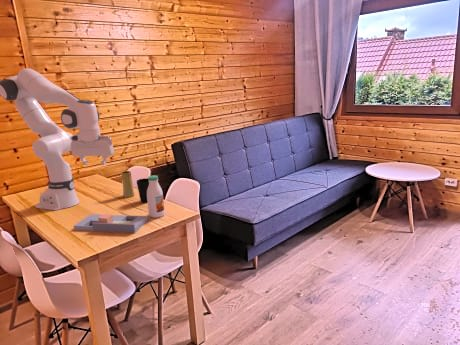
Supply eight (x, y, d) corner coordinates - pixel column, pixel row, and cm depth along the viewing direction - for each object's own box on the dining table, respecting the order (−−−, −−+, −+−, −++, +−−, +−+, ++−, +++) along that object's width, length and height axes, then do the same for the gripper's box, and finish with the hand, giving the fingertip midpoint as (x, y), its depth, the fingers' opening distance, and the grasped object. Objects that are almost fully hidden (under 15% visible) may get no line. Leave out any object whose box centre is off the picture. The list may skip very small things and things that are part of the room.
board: (73, 230, 163) (71, 222, 162) (91, 217, 177) (89, 210, 176) (134, 233, 157) (133, 224, 156) (148, 219, 171) (147, 212, 170)
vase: (124, 194, 210) (121, 171, 207) (135, 193, 211) (132, 170, 207) (122, 197, 205) (119, 173, 201) (133, 197, 205) (130, 173, 201)
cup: (149, 203, 193) (147, 182, 190) (136, 203, 195) (133, 182, 191) (155, 199, 200) (153, 178, 197) (142, 198, 202) (140, 178, 199)
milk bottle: (151, 219, 172) (147, 179, 167) (147, 214, 179) (142, 175, 173) (166, 216, 175) (163, 176, 170) (162, 211, 182) (158, 173, 177)
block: (99, 225, 163) (98, 217, 162) (105, 221, 167) (104, 214, 166) (107, 225, 162) (106, 218, 161) (113, 221, 166) (112, 214, 165)
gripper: (114, 134, 166) (118, 163, 170) (74, 134, 170) (79, 163, 174) (107, 136, 160) (111, 166, 164) (66, 137, 164) (71, 166, 168)
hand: (94, 164), depth 169 cm, fingers open, 8 cm apart
